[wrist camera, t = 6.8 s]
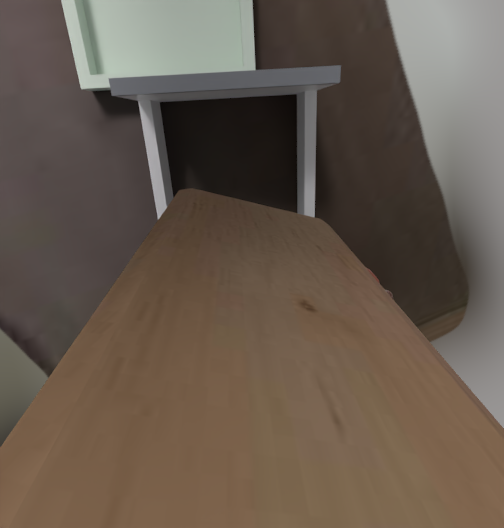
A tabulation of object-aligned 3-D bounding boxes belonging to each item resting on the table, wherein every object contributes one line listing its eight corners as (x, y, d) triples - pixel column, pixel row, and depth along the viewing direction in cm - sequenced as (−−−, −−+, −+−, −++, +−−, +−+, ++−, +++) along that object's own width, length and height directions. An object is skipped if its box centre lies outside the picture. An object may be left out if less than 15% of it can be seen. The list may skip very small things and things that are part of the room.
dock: (147, 90, 32) (108, 78, 22) (307, 81, 32) (340, 65, 22) (168, 230, 37) (145, 270, 27) (306, 220, 38) (332, 257, 28)
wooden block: (331, 218, 22) (789, 707, 4) (287, 342, 26) (416, 884, 8) (177, 180, 21) (-229, 679, 2) (154, 318, 25) (-73, 914, 6)
